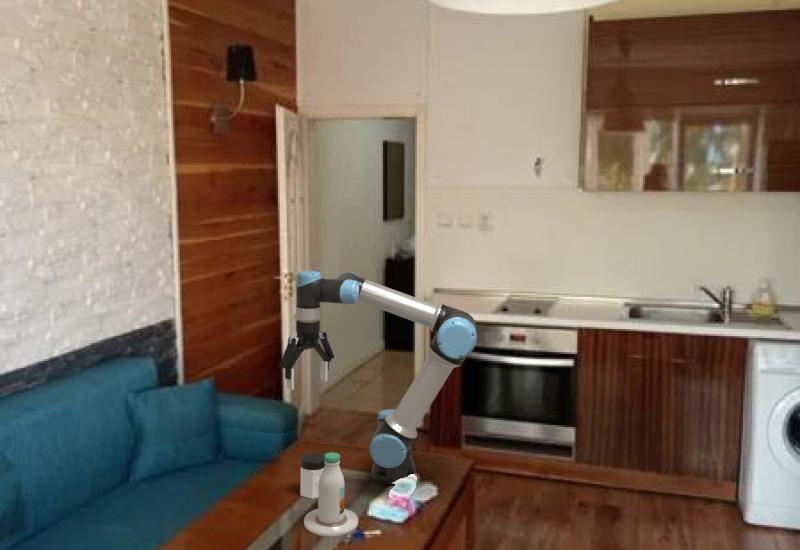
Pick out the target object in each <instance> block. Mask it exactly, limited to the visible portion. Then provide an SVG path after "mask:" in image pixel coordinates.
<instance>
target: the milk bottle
mask: <svg viewBox="0 0 800 550" xmlns="http://www.w3.org/2000/svg"><path fill="white" fill-rule="evenodd" d="M324 455H325V456H324V463H325V467H324V470H323V472H322V474H321V476H320V479H319V490H318V498H317V501H318V502H317V504H318V505H317V509H318V519H319V521H320V522H322V523H324V524H337V523H340V522H341V521H342V520H343V519H344V509H345V496H346V495H345V493H346V492H345V490H346V489H345V484H346V483H345V477H344V475H343V472H342V470H341V467H340V463H341V455H340V454H339V453H337V452H327V453H325V454H324Z"/></svg>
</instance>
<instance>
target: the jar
mask: <svg viewBox="0 0 800 550" xmlns="http://www.w3.org/2000/svg"><path fill="white" fill-rule="evenodd" d="M324 456H325V454H322V453H319V452H309V453H305V454H303V455H302V456H301V457H300V488H299V490H300V492H299V494H300V496H301V497H304V498H308V499H311V500H314V499H318V490H319V479H320V476H321V474H322V472H323V470H324V467H325V463H324Z"/></svg>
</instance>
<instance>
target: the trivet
mask: <svg viewBox="0 0 800 550" xmlns="http://www.w3.org/2000/svg"><path fill="white" fill-rule="evenodd" d="M303 526H304V528H305V530H306V531H308V532H309V533H311V534H314V535H317V536H320V537H330V538H331V537H333V538H334V537H340V536H344V535H348V534H350V533H352V532H353V530H354V531H355V530H356V529H357V528H358V526H359V517H358V515H357V514H356V513H355V512H354V511H352V510H350V509H347V508H344V519H343V520H342V521H341V522H340V523H337V524H324V523H322V522H320V521H319V519H318V508H317V509H313V510H311V511H309V512H307V514H306V515H305V516H304V519H303ZM351 531H352V532H351Z"/></svg>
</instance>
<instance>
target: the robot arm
mask: <svg viewBox="0 0 800 550" xmlns="http://www.w3.org/2000/svg"><path fill="white" fill-rule="evenodd" d="M321 275H322V274H321V272H319V271H316V270H315V271H314V270H302V271H299V272H298V273H297V276H296V285H295V288H296V291H295V293H296V305H295V306H296V310H295V311H296V312H295V313H296V315H295V316H296V317H295V318H296V322H295V331H296V337H292V336H289V337H288V339H287V345H286V347H285V349H284V353H283V356H282V358H281V360H280V363H279V367H280V368H283V369H284V378H285V379H286V389H289V390H291V391H292V390H294V388H295V387H294V386H295V369H294V368H293V367H294V365H296V362H297V360H298V359H299V357H300V356H301V354H302V353H303V352H304V351H305V350H306V351H307V350H309V349H314V350H315V351H316V353H317V354H318V355H319V357H320V358H321V359H322V360H320V363H319V364H320V366H319V367H320V368H319V369H320V372H319V380H320V381H323V382H325V383H326V382H328V371H329V370H330V363H331V362H332V359H334V358H335V354H334V352H333V349H332V348H331V347H332V346H331V344H330V342H329V339H328V334H327V332H325V331H322V330H321V321H320V319H321V303H327V304H328V303H330V304H343V305H350V304H351V305H354V304H356V303H357V302H360V303H363V304H366V305H369V306H371V307H374V308H377V309H380V310H382V311H385V312H388V313H390V314H392V315H396V316H398V317H400V318H404V319H407V320H409V321H411V322H415V323H418V324H420V325H422V326H425V327H428V328H429V329H430V331H431V332H432V333H435V335H434V337H433V338H432V340H431V342H430V344H429V345H428V349H429V354H428V356H427V357H426V359H425V361H424V362H423V365H422V366H421V368H420V369H419V371H418V372H417V374H416V375H415V377H414V379H413V381H412V383H411V384H410V386H409V387H408V389H407V391H406V393H405V394H404V395H403V398H402V399H401V401H400V402H399V403H398V406H396V409H395V408H390V409H383V410H380V411H379V412H378V414H377V415H378V416H377V428H376V430H375V433H374V436H373V437H372V439H371V441H370V444H369V453H370V457H371V458H372V460H373V463H372V467H371V472H370V474H371V475H370V476H371V478H372V480H374V481H375V482H376V483H379V484H383V485H387V484H391V483H392V482H394V481H396V480H398V479H400V478H404V477H407V476H408V475H410V474H416V467H415V463H414V460H413V457H412V444H413V443H414V442H415V440H416V439H417V436H418V431H417V428H418V426H419V424H420V423H421V421H422V420H423V418H424V416H425V415H426V413H427V411H428V410H429V408H430V407H431V405H432V404H433V402H434V400H435V399H436V397H437V395H438V394H439V392H440V390H441V389H442V387H443V386H444V384H445V383H446V381H447V379H448V377H449V376H450V374H451V372H452V371H453V369H454V368H458V367H461V366H462V364H463V362H464V361H465V359H466V358H467V356H469V355H470V353H472V351H474V349H475V347H476V344H477V340H478V339H477V338H478V336H477V332H478V328H477V323H476V320H475V319H474V317H473V316H472V315H470V314H469V313H468V312H466V311H464V310H461V309H459V308H455V307H452V306H450V305H447V304H443V303H440V304H435V303H431V302H429V301H426V300H424V299H420V298H417V297H415V296H412V295H409V294H407V293H404V292H402V291H399V290H396V289H392V288H390V287H387V286H385V285H382V284H379V283H377V282H374V281H371V280H367V279H365V278H363V277H360V276H359V275H358V274H357V273H356V272H353V271H346V272H343V273H341V274H340V275H339V276H337V278H322V276H321ZM319 341H320V342H319ZM320 343H321V344H320ZM321 345H322V346H321ZM416 475H417V474H416Z"/></svg>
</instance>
